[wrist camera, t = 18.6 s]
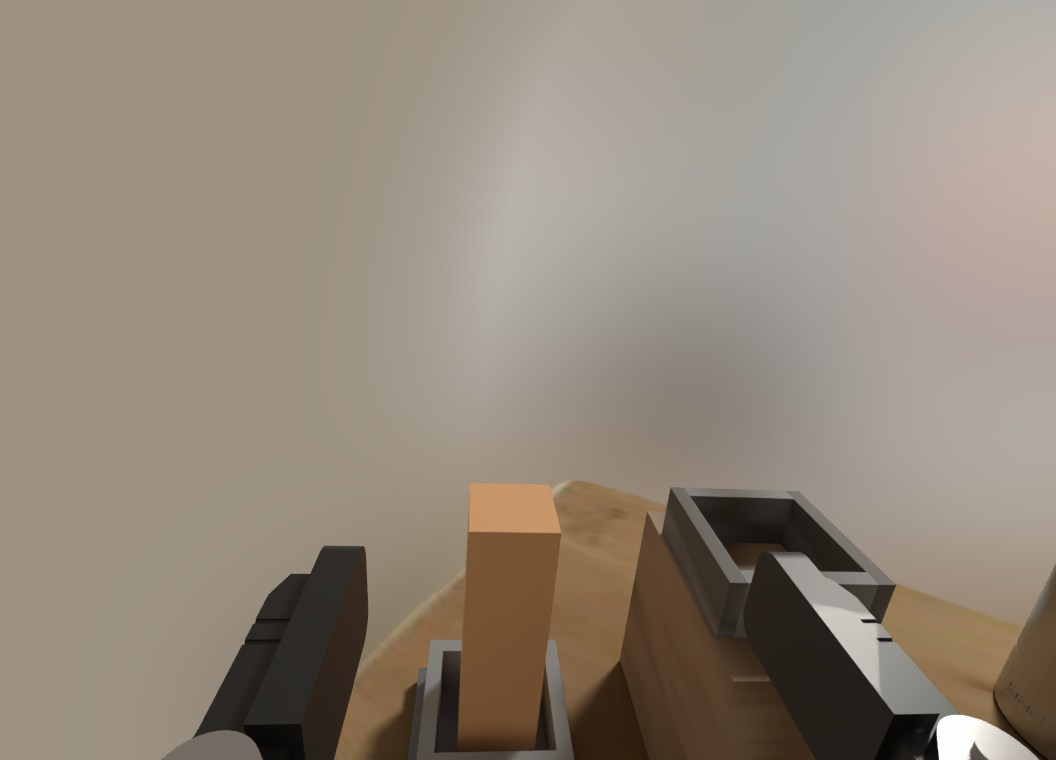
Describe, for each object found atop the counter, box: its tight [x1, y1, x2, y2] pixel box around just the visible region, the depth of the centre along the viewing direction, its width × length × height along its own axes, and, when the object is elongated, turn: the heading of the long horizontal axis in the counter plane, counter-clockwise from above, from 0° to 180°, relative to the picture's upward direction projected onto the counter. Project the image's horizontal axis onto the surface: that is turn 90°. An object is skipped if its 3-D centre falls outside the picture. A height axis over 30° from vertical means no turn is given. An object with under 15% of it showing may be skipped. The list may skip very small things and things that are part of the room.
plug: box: [457, 483, 561, 752], centre depth 27 cm, size 4×4×15 cm
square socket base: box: [620, 488, 896, 760], centre depth 29 cm, size 8×12×15 cm, turn 4°
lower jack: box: [407, 640, 575, 760], centre depth 29 cm, size 9×9×4 cm
